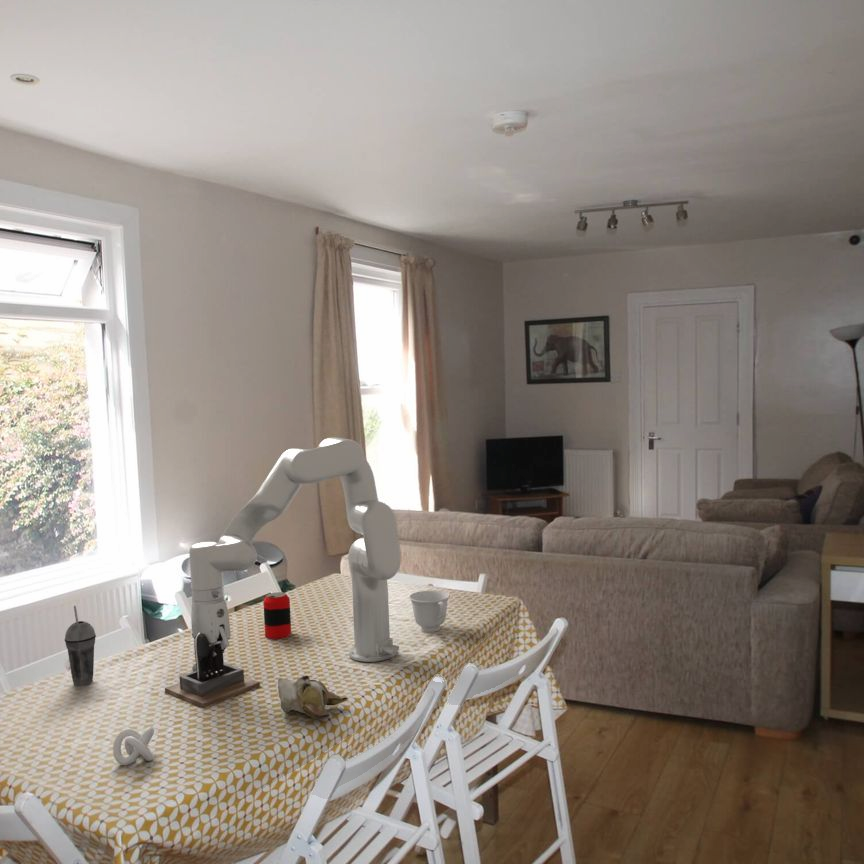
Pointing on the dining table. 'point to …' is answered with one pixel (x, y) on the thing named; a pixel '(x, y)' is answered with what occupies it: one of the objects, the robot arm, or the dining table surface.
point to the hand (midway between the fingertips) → (211, 667)
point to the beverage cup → (81, 651)
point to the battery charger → (204, 658)
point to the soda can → (277, 615)
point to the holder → (212, 686)
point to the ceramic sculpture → (306, 697)
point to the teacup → (429, 609)
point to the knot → (133, 745)
